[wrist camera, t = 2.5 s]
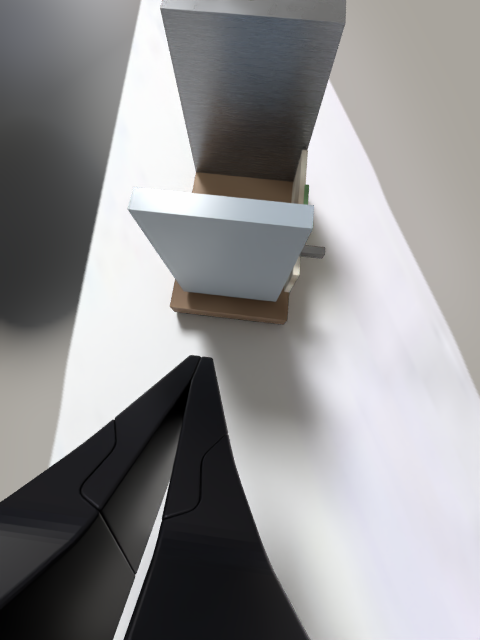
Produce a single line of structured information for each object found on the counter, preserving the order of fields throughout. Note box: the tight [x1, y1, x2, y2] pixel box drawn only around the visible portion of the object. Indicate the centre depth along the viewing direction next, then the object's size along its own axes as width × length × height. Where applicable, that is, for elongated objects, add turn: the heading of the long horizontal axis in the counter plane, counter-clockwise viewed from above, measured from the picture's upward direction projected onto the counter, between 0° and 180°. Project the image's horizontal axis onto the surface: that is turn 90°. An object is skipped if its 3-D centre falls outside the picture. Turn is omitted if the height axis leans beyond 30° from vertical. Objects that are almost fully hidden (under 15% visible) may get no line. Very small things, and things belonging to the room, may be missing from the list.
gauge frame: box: [170, 150, 309, 324], centre depth 18 cm, size 14×9×5 cm, turn 173°
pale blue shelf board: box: [128, 187, 325, 302], centre depth 14 cm, size 4×9×9 cm, turn 83°
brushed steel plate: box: [160, 0, 346, 182], centre depth 16 cm, size 2×9×10 cm, turn 83°
